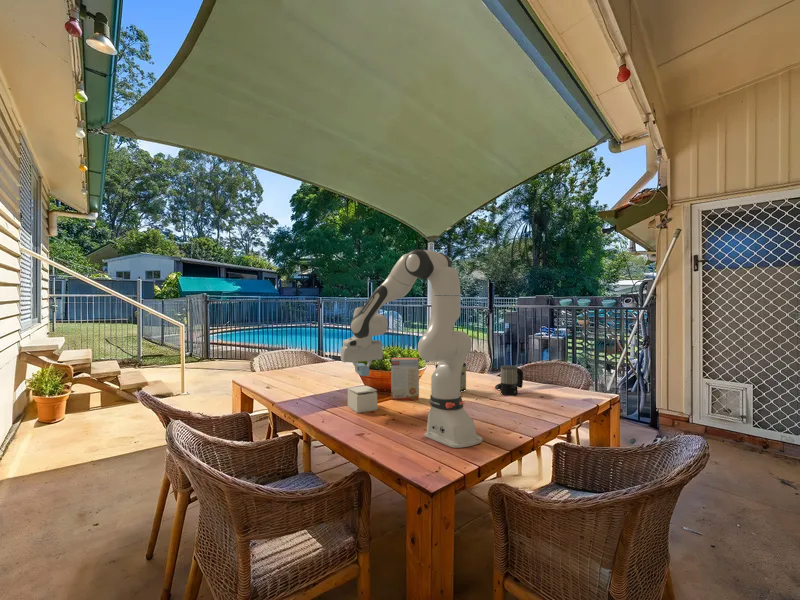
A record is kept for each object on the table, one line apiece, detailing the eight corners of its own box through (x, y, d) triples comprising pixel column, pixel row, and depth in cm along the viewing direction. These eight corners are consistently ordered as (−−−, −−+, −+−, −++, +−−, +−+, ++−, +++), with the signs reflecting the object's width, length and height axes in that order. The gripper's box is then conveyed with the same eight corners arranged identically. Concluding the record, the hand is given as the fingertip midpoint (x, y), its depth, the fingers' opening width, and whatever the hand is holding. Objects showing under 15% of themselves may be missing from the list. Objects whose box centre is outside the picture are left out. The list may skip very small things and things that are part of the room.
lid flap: (376, 391, 175) (376, 389, 175) (357, 393, 170) (357, 392, 170) (366, 386, 185) (366, 385, 185) (348, 389, 181) (348, 388, 181)
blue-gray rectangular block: (369, 375, 173) (369, 367, 173) (361, 376, 172) (361, 367, 172) (362, 371, 182) (362, 363, 182) (355, 371, 181) (355, 363, 181)
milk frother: (512, 397, 197) (512, 368, 197) (486, 391, 208) (486, 365, 208) (525, 392, 207) (525, 365, 207) (499, 387, 218) (499, 361, 218)
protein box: (435, 393, 206) (435, 364, 206) (450, 387, 218) (450, 360, 218) (451, 396, 199) (451, 366, 199) (466, 390, 211) (466, 362, 211)
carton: (377, 410, 175) (377, 392, 175) (357, 413, 170) (357, 395, 170) (366, 403, 186) (366, 387, 185) (347, 406, 181) (347, 389, 181)
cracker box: (419, 397, 197) (419, 357, 197) (418, 400, 191) (418, 359, 191) (392, 396, 198) (392, 357, 198) (391, 399, 192) (390, 358, 192)
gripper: (379, 339, 184) (379, 367, 185) (339, 341, 175) (339, 370, 175) (385, 340, 179) (384, 369, 179) (344, 342, 169) (344, 373, 169)
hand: (362, 370), depth 177 cm, fingers closed on blue-gray rectangular block, 4 cm apart
